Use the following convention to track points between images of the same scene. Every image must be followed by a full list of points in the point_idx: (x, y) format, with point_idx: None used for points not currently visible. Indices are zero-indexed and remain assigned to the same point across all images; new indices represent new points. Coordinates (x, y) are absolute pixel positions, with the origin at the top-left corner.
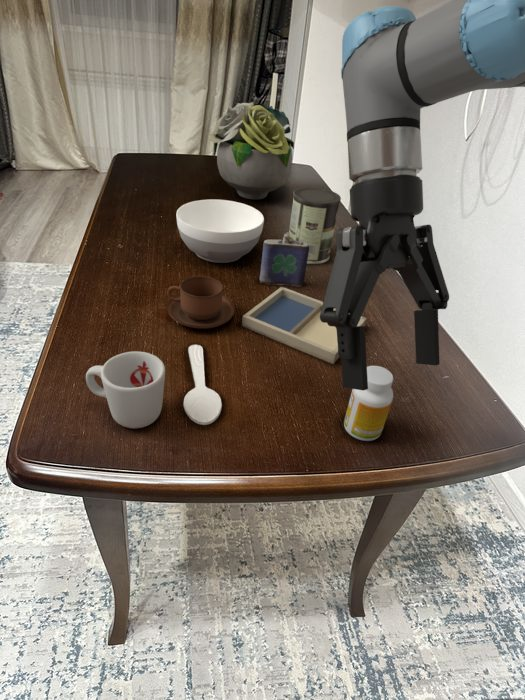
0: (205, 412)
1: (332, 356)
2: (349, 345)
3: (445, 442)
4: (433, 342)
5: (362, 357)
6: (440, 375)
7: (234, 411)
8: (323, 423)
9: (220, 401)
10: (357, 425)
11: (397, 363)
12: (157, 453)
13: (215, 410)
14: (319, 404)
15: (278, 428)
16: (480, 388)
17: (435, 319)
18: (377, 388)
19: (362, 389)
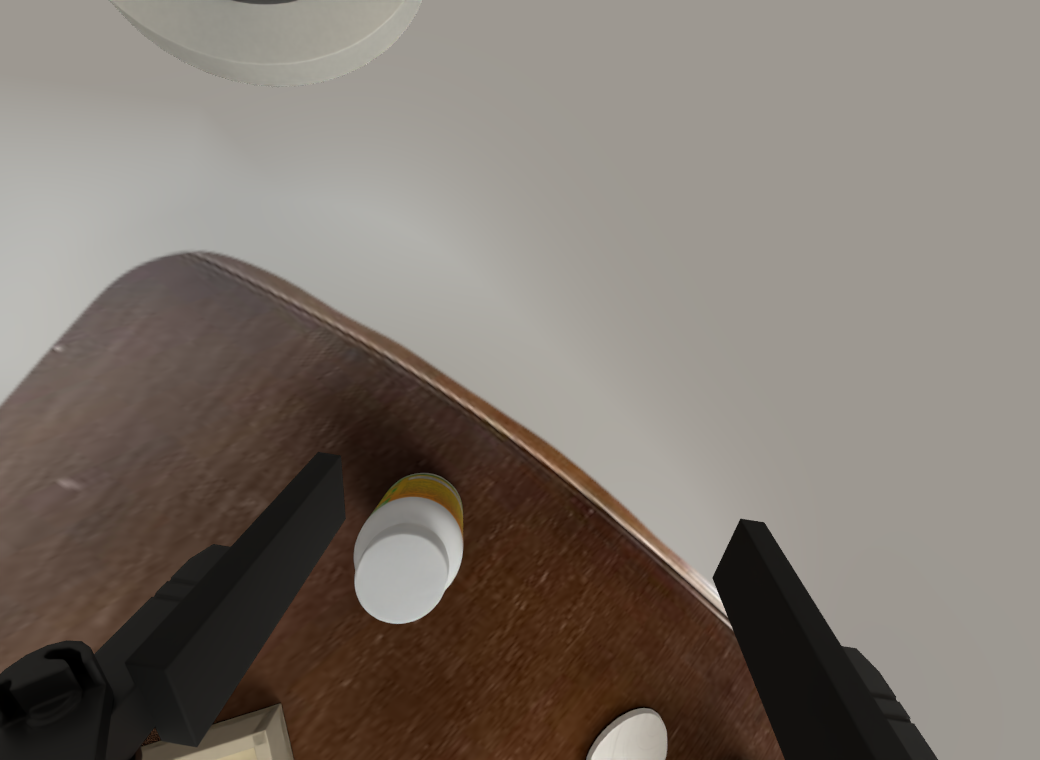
0: (639, 739)
1: (271, 728)
2: (900, 714)
3: (317, 369)
4: (290, 524)
5: (824, 625)
6: (74, 496)
7: (586, 708)
8: (474, 572)
9: (596, 749)
10: (462, 516)
11: (125, 602)
12: (750, 700)
13: (621, 732)
14: (433, 618)
15: (554, 618)
16: (36, 395)
17: (199, 614)
18: (440, 544)
19: (765, 527)
